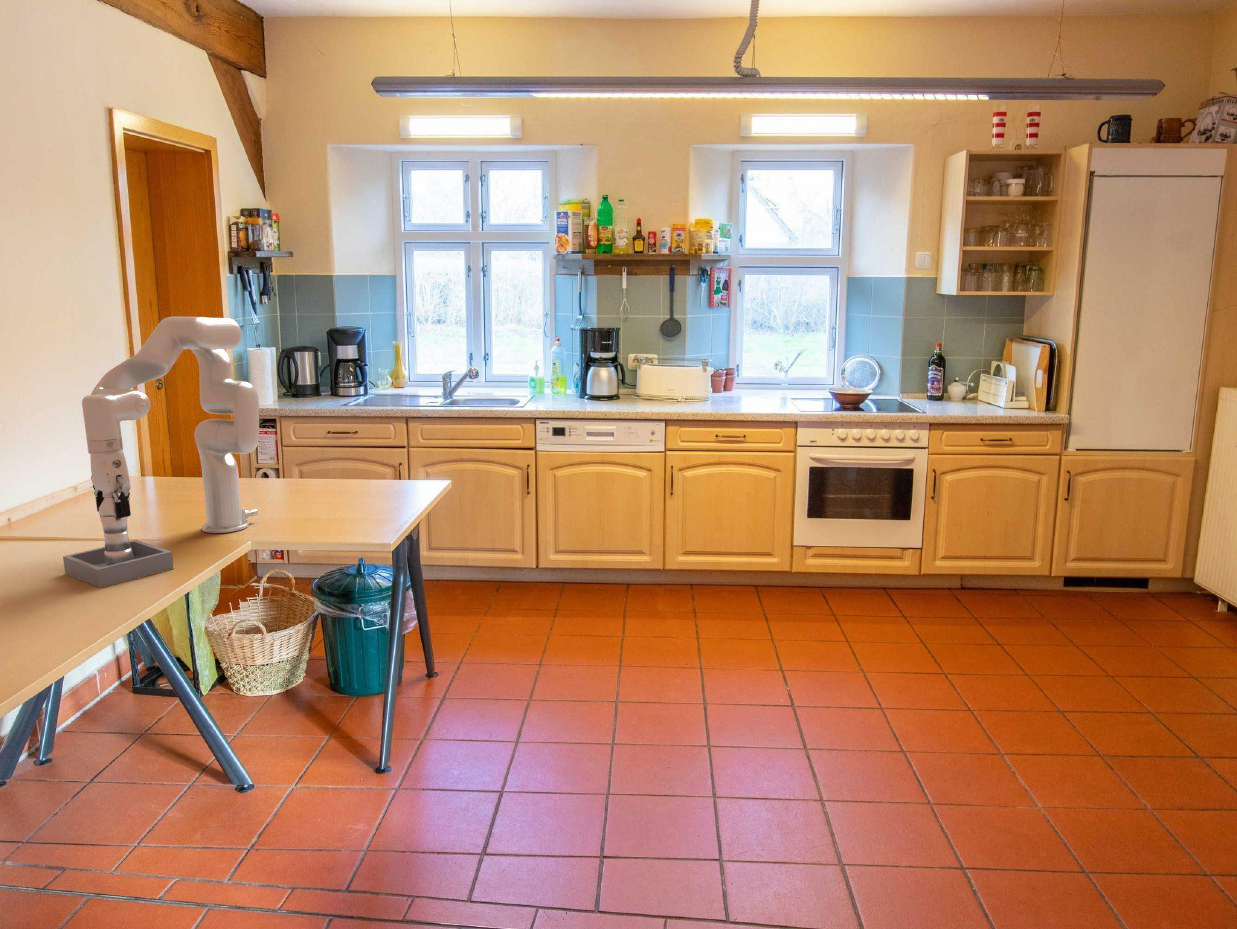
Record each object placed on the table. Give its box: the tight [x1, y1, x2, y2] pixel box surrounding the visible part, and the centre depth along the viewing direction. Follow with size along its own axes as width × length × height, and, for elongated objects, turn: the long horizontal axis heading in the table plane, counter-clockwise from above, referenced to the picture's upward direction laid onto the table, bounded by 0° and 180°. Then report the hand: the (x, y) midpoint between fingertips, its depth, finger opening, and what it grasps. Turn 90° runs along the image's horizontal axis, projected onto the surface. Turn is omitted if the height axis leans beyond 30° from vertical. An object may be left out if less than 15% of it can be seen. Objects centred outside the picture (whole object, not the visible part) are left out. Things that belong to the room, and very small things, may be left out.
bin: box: [62, 539, 175, 589], centre depth 241 cm, size 18×18×4 cm
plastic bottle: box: [98, 489, 133, 566], centre depth 239 cm, size 6×7×20 cm
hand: (114, 514), depth 239 cm, fingers open, 9 cm apart
